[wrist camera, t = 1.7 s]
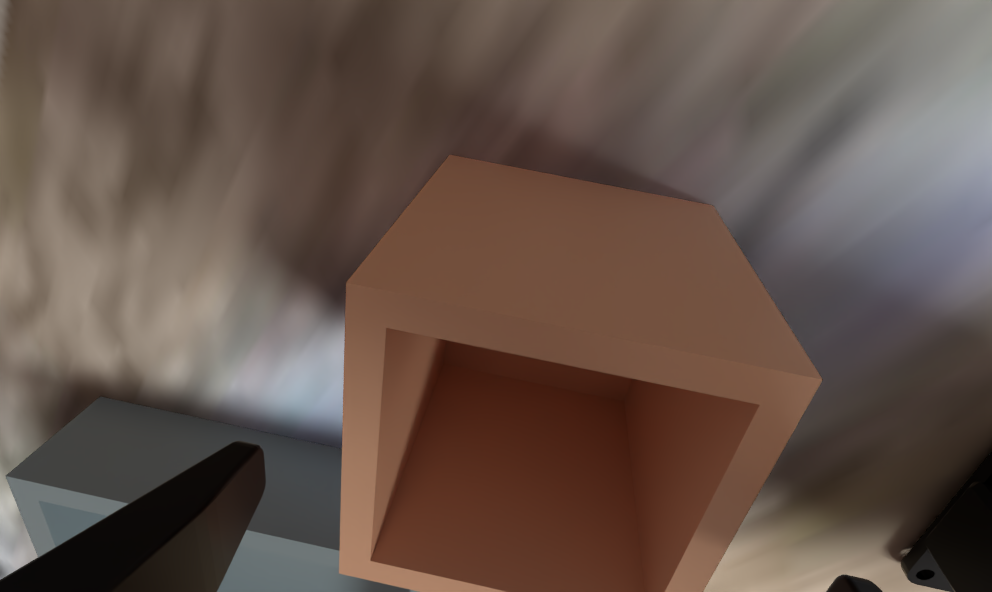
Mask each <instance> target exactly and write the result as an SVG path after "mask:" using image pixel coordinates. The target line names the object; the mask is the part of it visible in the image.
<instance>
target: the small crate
mask: <svg viewBox="0 0 992 592" xmlns="http://www.w3.org/2000/svg"><path fill="white" fill-rule="evenodd" d="M822 380H823V379H822V378H821V376H820V375H819V373H818V371H817V370H816V368H815V367H814V365H813V363H812V362H811V360H810V359H809V357H808V355H807V354H806V352H805V351H804V349H803V348H802V346H801V344H800V343H799V341H798V340H797V338H796V336H795V335H794V333H793V332H792V330H791V328H790V327H789V325H788V324H787V322H786V321H785V319H784V317H783V316H782V314H781V313H780V311H779V309H778V308H777V306H776V305H775V303H774V301H773V300H772V298H771V297H770V295H769V294H768V292H767V290H766V289H765V287H764V286H763V284H762V282H761V281H760V279H759V278H758V276H757V274H756V273H755V271H754V270H753V268H752V267H751V265H750V263H749V262H748V260H747V259H746V257H745V255H744V254H743V252H742V251H741V249H740V247H739V246H738V244H737V243H736V241H735V240H734V238H733V236H732V235H731V233H730V232H729V230H728V228H727V227H726V225H725V224H724V222H723V220H722V219H721V217H720V216H719V214H718V213H717V211H716V209H715V208H714V206H713V205H708V204H703V203H698V202H693V201H687V200H682V199H677V198H672V197H667V196H661V195H656V194H651V193H646V192H641V191H636V190H630V189H625V188H620V187H615V186H610V185H605V184H599V183H594V182H589V181H584V180H579V179H574V178H568V177H563V176H558V175H553V174H548V173H543V172H537V171H532V170H527V169H522V168H517V167H512V166H506V165H501V164H496V163H491V162H486V161H480V160H475V159H470V158H465V157H460V156H455V155H449V156H448V157H447V158H446V160H445V161H444V162H443V163H442V165H441V166H440V167H439V168H438V170H437V171H436V172H435V173H434V175H433V176H432V177H431V178H430V179H429V181H428V182H427V183H426V184H425V186H424V187H423V188H422V189H421V191H420V192H419V193H418V194H417V196H416V197H415V198H414V199H413V200H412V202H411V203H410V204H409V205H408V207H407V208H406V209H405V210H404V212H403V213H402V214H401V215H400V217H399V218H398V219H397V220H396V221H395V223H394V224H393V225H392V226H391V228H390V229H389V230H388V231H387V233H386V234H385V235H384V236H383V238H382V239H381V240H380V241H379V242H378V244H377V245H376V246H375V247H374V249H373V250H372V251H371V252H370V254H369V255H368V256H367V257H366V259H365V260H364V261H363V262H362V263H361V265H360V266H359V267H358V268H357V270H356V271H355V272H354V273H353V275H352V276H351V277H350V278H349V280H348V281H347V282H346V308H345V349H344V389H343V430H342V470H341V511H340V551H339V574H343V575H348V576H352V577H357V578H361V579H366V580H370V581H374V582H379V583H383V584H388V585H392V586H397V587H401V588H405V589H410V590H414V591H419V592H703V591H704V589H705V587H706V585H707V584H708V582H709V580H710V578H711V577H712V575H713V573H714V571H715V569H716V568H717V566H718V564H719V562H720V561H721V559H722V557H723V555H724V554H725V552H726V550H727V548H728V546H729V545H730V543H731V541H732V539H733V538H734V536H735V534H736V532H737V531H738V529H739V527H740V525H741V523H742V522H743V520H744V518H745V516H746V515H747V513H748V511H749V509H750V508H751V506H752V504H753V502H754V501H755V499H756V497H757V495H758V493H759V492H760V490H761V488H762V486H763V485H764V483H765V481H766V479H767V478H768V476H769V474H770V472H771V470H772V469H773V467H774V465H775V463H776V462H777V460H778V458H779V456H780V455H781V453H782V451H783V449H784V447H785V446H786V444H787V442H788V440H789V439H790V437H791V435H792V433H793V432H794V430H795V428H796V426H797V424H798V423H799V421H800V419H801V417H802V416H803V414H804V412H805V410H806V409H807V407H808V405H809V403H810V401H811V400H812V398H813V396H814V394H815V393H816V391H817V389H818V387H819V386H820V384H821V382H822Z"/></svg>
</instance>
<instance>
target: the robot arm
mask: <svg viewBox="0 0 992 592" xmlns="http://www.w3.org/2000/svg"><path fill="white" fill-rule="evenodd" d="M265 485H266V473H265V459H264V450H263V448H262V446H260V445H258V444H254V443H250V442H245V441H235V442H232V443H230V444H228V445H227V446H225V447H223V448H222V449H220V450H218V451H217V452H215V453H213V454H211V455H210V456H208V457H206V458H205V459H203V460H201V461H200V462H198V463H196V464H195V465H193V466H191V467H190V468H188V469H186V470H185V471H183V472H181V473H179V474H178V475H176V476H174V477H173V478H171V479H169V480H168V481H166V482H164V483H163V484H161V485H159V486H158V487H156V488H154V489H153V490H151V491H149V492H148V493H146V494H144V495H142V496H141V497H139V498H137V499H136V500H134V501H132V502H131V503H129V504H127V505H126V506H124V507H122V508H121V509H119V510H117V511H116V512H114V513H112V514H110V515H109V516H107V517H105V518H104V519H102V520H100V521H99V522H97V523H95V524H94V525H92V526H90V527H89V528H87V529H85V530H84V531H82V532H80V533H78V534H77V535H75V536H73V537H72V538H70V539H68V540H67V541H65V542H63V543H62V544H60V545H58V546H57V547H55V548H53V549H52V550H50V551H48V552H46V553H45V554H43V555H41V556H40V557H38V558H36V559H35V560H33V561H31V562H30V563H28V564H26V565H25V566H23V567H21V568H20V569H18V570H16V571H14V572H13V573H11V574H9V575H8V576H6V577H4V578H3V579H1V580H0V592H217V591H218V589H219V587H220V585H221V583H222V581H223V579H224V577H225V575H226V573H227V570H228V568H229V566H230V564H231V562H232V560H233V558H234V556H235V553H236V551H237V549H238V547H239V545H240V543H241V541H242V538H243V536H244V534H245V532H246V530H247V528H248V526H249V524H250V521H251V519H252V517H253V515H254V513H255V511H256V509H257V507H258V504H259V502H260V500H261V498H262V496H263V493H264V490H265ZM901 567H902V569H903V571H904V573H905V575H906V577H907V578H908V580H909V581H910V582H912V583H914V584H917V585H922V586H926V587H931V588H936V589H940V590H945V591H949V592H992V452H991V453H990V455H989V456H988V457H987V458H986V459H985V461H984V462H983V463H982V464H981V465H980V467H979V468H978V469H977V470H976V471H975V473H974V474H973V475H972V476H971V478H970V479H969V480H968V481H967V482H966V484H965V485H964V486H963V487H962V488H961V490H960V491H959V492H958V493H957V495H956V496H955V497H954V498H953V499H952V501H951V502H950V503H949V504H948V505H947V507H946V508H945V509H944V510H943V512H942V513H941V514H940V515H939V516H938V518H937V519H936V520H935V521H934V522H933V524H932V525H931V526H930V527H929V528H928V530H927V531H926V532H925V533H924V535H923V536H922V537H921V538H920V539H919V541H918V542H917V543H916V544H915V545H914V547H913V548H912V549H911V550H910V552H909V553H908V554H907V555H906V556H905V558H904V559H903V560H902V562H901ZM826 592H882V591H881V590H880V589H879V588H878V587H877V586H876V585H875V584H874V583H873V582H871V581H869V580H867V579H863V578H858V577H854V576H849V575H841V576H838V577H837V578H836V579H835V580H834V582H833V583H832V584H831V586H830V587H829V588H828V590H827V591H826Z"/></svg>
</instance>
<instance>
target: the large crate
mask: <svg viewBox="0 0 992 592" xmlns="http://www.w3.org/2000/svg"><path fill="white" fill-rule="evenodd" d="M235 441H245V442H250V443H254V444H258V445H260V446H262V448H263V450H264V459H265V473H266V485H265V490H264V493H263V496H262V498H261V500H260V502H259V504H258V507H257V509H256V511H255V513H254V515H253V517H252V519H251V521H250V524H249V526H248V528H247V530H246V532H245V534H244V536H243V538H242V541H241V543H240V545H239V547H238V549H237V551H236V553H235V556H234V558H233V560H232V562H231V564H230V566H229V568H228V570H227V573H226V575H225V577H224V579H223V581H222V583H221V585H220V587H219V589H218V591H217V592H419V591H414V590H410V589H405V588H401V587H397V586H392V585H388V584H383V583H379V582H374V581H370V580H366V579H361V578H357V577H352V576H348V575H343V574H339V551H340V511H341V470H342V449H340V448H336V447H331V446H327V445H322V444H317V443H313V442H308V441H303V440H299V439H294V438H290V437H285V436H280V435H276V434H271V433H267V432H262V431H257V430H253V429H248V428H243V427H239V426H234V425H230V424H225V423H220V422H216V421H211V420H207V419H202V418H197V417H193V416H188V415H183V414H179V413H174V412H170V411H165V410H160V409H156V408H151V407H147V406H142V405H137V404H133V403H128V402H124V401H119V400H114V399H110V398H105V397H99V398H98V399H96V400H95V401H94V402H93V403H92V404H91V405H89V406H88V407H87V408H86V409H85V410H83V411H82V412H81V413H80V414H79V415H77V416H76V417H75V418H74V419H73V420H72V421H70V422H69V423H68V424H67V425H66V426H64V427H63V428H62V429H61V430H60V431H58V432H57V433H56V434H55V435H54V436H52V437H51V438H50V439H49V440H48V441H47V442H45V443H44V444H43V445H42V446H41V447H39V448H38V449H37V450H36V451H35V452H33V453H32V454H31V455H30V456H29V457H28V458H26V459H25V460H24V461H23V462H22V463H20V464H19V465H18V466H17V467H16V468H14V469H13V470H12V471H11V472H10V473H8V474H7V475H6V479H7V481H8V484H9V486H10V489H11V491H12V494H13V496H14V498H15V501H16V503H17V506H18V508H19V511H20V513H21V516H22V518H23V521H24V523H25V526H26V528H27V531H28V533H29V536H30V538H31V541H32V543H33V546H34V548H35V550H36V553H37V555H38V557H40V556H41V555H43V554H45V553H46V552H48V551H50V550H52V549H53V548H55V547H57V546H58V545H60V544H62V543H63V542H65V541H67V540H68V539H70V538H72V537H73V536H75V535H77V534H78V533H80V532H82V531H84V530H85V529H87V528H89V527H90V526H92V525H94V524H95V523H97V522H99V521H100V520H102V519H104V518H105V517H107V516H109V515H110V514H112V513H114V512H116V511H117V510H119V509H121V508H122V507H124V506H126V505H127V504H129V503H131V502H132V501H134V500H136V499H137V498H139V497H141V496H142V495H144V494H146V493H148V492H149V491H151V490H153V489H154V488H156V487H158V486H159V485H161V484H163V483H164V482H166V481H168V480H169V479H171V478H173V477H174V476H176V475H178V474H179V473H181V472H183V471H185V470H186V469H188V468H190V467H191V466H193V465H195V464H196V463H198V462H200V461H201V460H203V459H205V458H206V457H208V456H210V455H211V454H213V453H215V452H217V451H218V450H220V449H222V448H223V447H225V446H227V445H228V444H230V443H232V442H235Z"/></svg>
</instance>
